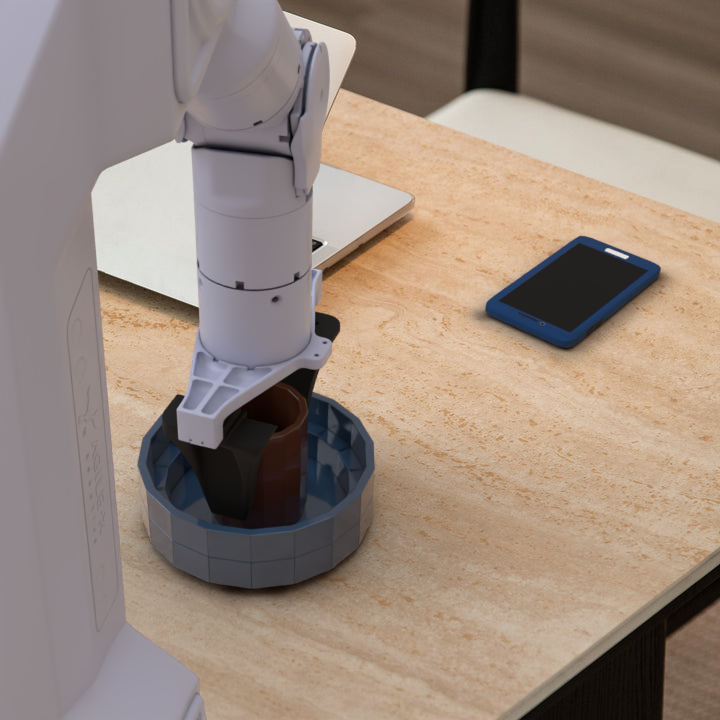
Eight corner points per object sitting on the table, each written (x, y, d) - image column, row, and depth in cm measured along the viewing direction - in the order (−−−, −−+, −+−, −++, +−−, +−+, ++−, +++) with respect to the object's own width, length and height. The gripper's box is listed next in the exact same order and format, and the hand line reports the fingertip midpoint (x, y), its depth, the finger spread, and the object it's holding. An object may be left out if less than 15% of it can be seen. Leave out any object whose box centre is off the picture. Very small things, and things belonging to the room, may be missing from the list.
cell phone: (663, 274, 94) (665, 265, 94) (567, 352, 86) (568, 343, 85) (580, 240, 98) (581, 232, 98) (479, 312, 89) (480, 304, 89)
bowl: (296, 631, 64) (297, 569, 62) (95, 538, 69) (88, 477, 67) (411, 488, 74) (416, 429, 71) (226, 416, 79) (225, 358, 76)
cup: (274, 550, 68) (273, 452, 64) (191, 514, 70) (186, 417, 66) (324, 494, 72) (326, 398, 68) (244, 462, 74) (242, 367, 70)
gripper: (273, 356, 55) (274, 574, 63) (377, 210, 66) (367, 411, 74) (130, 323, 57) (149, 539, 65) (255, 186, 68) (258, 385, 76)
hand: (257, 469), depth 70 cm, fingers open, 7 cm apart
